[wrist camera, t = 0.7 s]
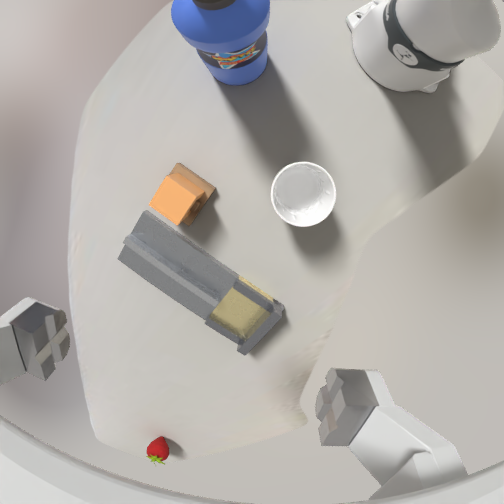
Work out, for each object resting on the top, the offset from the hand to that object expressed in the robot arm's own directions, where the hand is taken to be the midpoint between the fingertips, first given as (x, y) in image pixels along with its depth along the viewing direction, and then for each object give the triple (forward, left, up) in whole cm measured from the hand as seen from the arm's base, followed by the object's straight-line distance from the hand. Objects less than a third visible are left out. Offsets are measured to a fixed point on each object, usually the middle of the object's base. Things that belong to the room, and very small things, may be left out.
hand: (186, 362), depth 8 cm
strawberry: (+65, +18, -39) cm, 78 cm away
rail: (+17, +2, -39) cm, 42 cm away
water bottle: (-16, -14, -39) cm, 44 cm away
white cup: (-5, +5, -39) cm, 39 cm away
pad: (+6, -8, -39) cm, 40 cm away
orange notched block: (+6, -8, -37) cm, 38 cm away
